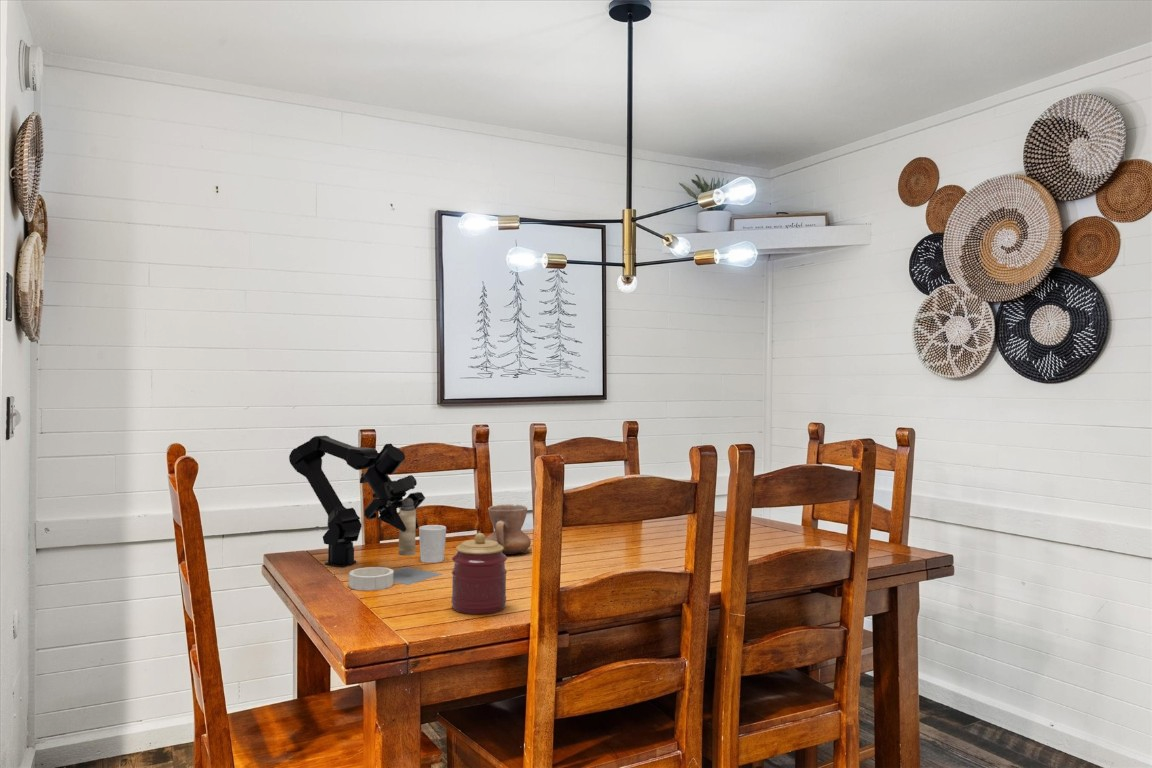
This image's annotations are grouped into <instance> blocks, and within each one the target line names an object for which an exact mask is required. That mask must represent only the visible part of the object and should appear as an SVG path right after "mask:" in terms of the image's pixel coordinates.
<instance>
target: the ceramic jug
mask: <svg viewBox="0 0 1152 768" xmlns="http://www.w3.org/2000/svg"><path fill="white" fill-rule="evenodd" d="M487 512H488V517H489V520H490V521H491V524H492V527H493V529H494V531H493V532H492V533H490V534H489V535H488V536H486V537H485V538H486V540H493V541H496V542H498V544H500V545H501V546H503V547H504V549H503V550H502V553H503V554H504V555H515V554H516V553H517V554H522V553H524V552H525V551H527V550H528V549H529V548H530V546H531V545H532V544H531V543H532V541H531V537H530V536H529V535H527V533H525V532H524V531H522V529H523V526H524V524H525V521H526V517H527V513H528V506H526V505H522V504H512V503H510V504H509V503H507V504H506V503H505V504H503V503H502V504H495V505H491V506H489V507H488V508H487Z"/></svg>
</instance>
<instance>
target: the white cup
mask: <svg viewBox="0 0 1152 768" xmlns="http://www.w3.org/2000/svg"><path fill="white" fill-rule="evenodd" d="M418 532H419V533H418V534H419V536H418V538H419V540H418V541H419V554H420V562H422V563H427V564H429V563H430V564H435V563H440V562H443V561H445V560H444V559H445V551H446V538H447V537H446V536H447V526H445V525H440V524H427V525H422V526H418Z"/></svg>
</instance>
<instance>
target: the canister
mask: <svg viewBox="0 0 1152 768" xmlns="http://www.w3.org/2000/svg"><path fill="white" fill-rule="evenodd" d="M486 538H487V537H486V535H485V534H484V533H482V532H477V533H476V534H475V535H474V539H468V540H465V541H462V542H461V544H459V545H457V546H456V547H455V550H456V551H457V552H456V553H455V554H454V555H453V556H452V558H451V559H452V561H453V562H454V563H453V565H454V566H453V569H452V571H451V575H452V583H451V584H452V589H451V590H452V591H451V601H450V602H451V607H452V609H453V610H454V611H456V612H459V613H463V614H470V615H484V614H492V613H498V612H500V611H502V610H504V609H505V607H506V603H507V595H506V592H507V591H506V588H507V586H506V585H507V573H508V571H507V569H506V566H505V563H506V561H507V559H508V557H507V554H503V553H502V550H503V549H504V547H503V546H501V545H500V544H498V542H496V541H493V540H486Z"/></svg>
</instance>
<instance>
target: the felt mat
mask: <svg viewBox="0 0 1152 768" xmlns="http://www.w3.org/2000/svg"><path fill="white" fill-rule="evenodd" d="M393 570H394V576H393V583H395V584H396V583H397V584H402V585H406V586H409V585H413V584H416V583H419V582H422V581H426V580H429V579H433V578H435V577H439V576H441V575H443V573H440V572H434V571H428V570H423V569H419V568H413V567H406V566H403V567H401V568H395V569H393Z"/></svg>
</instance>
